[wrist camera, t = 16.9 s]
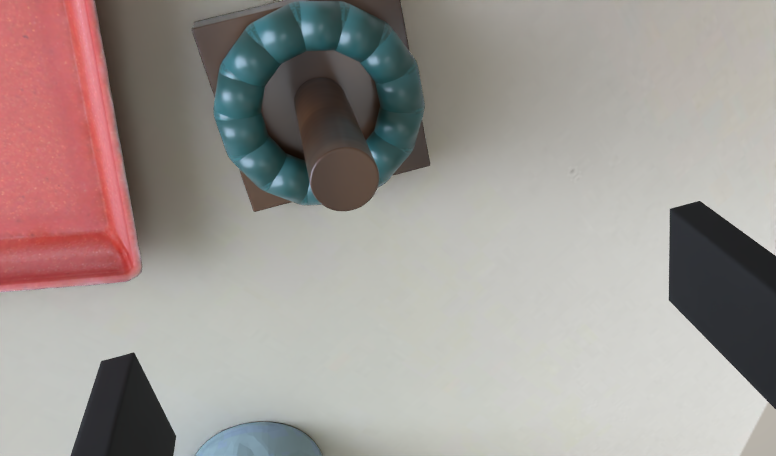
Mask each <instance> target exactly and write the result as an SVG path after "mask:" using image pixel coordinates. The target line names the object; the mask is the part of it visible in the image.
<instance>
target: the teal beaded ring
mask: <svg viewBox="0 0 776 456" xmlns="http://www.w3.org/2000/svg"><path fill="white" fill-rule="evenodd" d="M332 50H335V51H337V52H339V53H341V54H343V55H346V56H348V57H350V58H352V59H354V60H356V61H358V62H360V64H361V65H362V66H363V67H364V69H365V70H366V71H367V72H368V74H369V75H370V76H371V77H372V79H373V80H374V81H375V84H376V88H377V93H378V98H379V102H380V109H379V113H378V117H377V121H376V125H375V129H374V131H373V132H372V133H371V135H370V136H369V137H368V138H367V140H366V142H367V144H368V147H369V149H370V151H371V153H372V156H373V158H374V160H375V163H376V165H377V167H378V171H379V184H378V187H380V186H382V185H383V184H385V183H386V182H387V181H388V180H389V179H390V178H391V176H392V175H393V174H394V173H395V172H396V170H397V169H398V168H399V167H400V166H401V164H402V163H403V162H404V161H405V160H406V158H407V157H408V156H409V155H410V154H411V152H412V151H413V149H414V146H415V142H416V139H417V135H418V132H419V128H420V125H421V121H422V117H423V114H424V109H425V103H424V97H423V92H422V86H421V80H420V75H419V69H418V65H417V62H416V60H415V58H414V57H413V55H412V54H411V53H410V51H409V50H408V49H407V47H406V46H405V45H404V43H403V42H402V41H401V39H400V38H399V37H398V35H397V34H396V33H395V31H394V30H393V29H392V27H391V26H390V25H389V24H388V23H386V22H385V21H383V20H381V19H379V18H377V17H375V16H373V15H371V14H369V13H367V12H365V11H363V10H361V9H359V8H357V7H355V6H353V5H351V4H349V3H346V2H343V1H296V2H292V3H289V4H287V5H285V6H283V7H281V8H279V9H277V10H275V11H273V12H271V13H270V14H268V15H266V16H264V17H262V18H260V19H258V20H256V21H254V22H252V23H251V24H249V25H248V26H247V27H246V29H245V30H244V31H243V33H242V34H241V36H240V37H239V38H238V40H237V41H236V43H235V44H234V45H233V47H232V48H231V50H230V51H229V52H228V54H227V55H226V57H225V58H224V59H223V61H222V63H221V65H220V68H219V73H218V80H217V87H216V94H215V101H214V118H215V121H216V124H217V126H218V129H219V132H220V135H221V138H222V141H223V144H224V147H225V149H226V152H227V155H228V157H229V158H230V159H231V161H232V162H233V163H234V164H235V165H236V166H237V167H238V168H239V169H240V170H241V171H242V172H243V173H244V174H245V175H246V176H247V177H248V178H249V179H250V180H251V181H252V182H253V183H254V184H255V185H256V186H257V187H258V188H260V189H261V190H263V191H265V192H267V193H270V194H273V195H275V196H278V197H281V198H284V199H286V200H289V201H292V202H294V203H297V204H300V205H320V204H321V203H320V202H319V201H318V200H317V199H316V198H315V197H314V195H313V193H312V190H311V187H310V182H309V177H308V172H307V167H306V162H305V161H304V160H302V159H299V158H297V157H294V156H292V155H289V154H287V153H285V152H284V151H283V150H282V149H281V148H280V147H279V146H278V144H277V143H276V142H275V141H274V140H273V139H272V138H271V137H270V136H269V135H268V132H267V129H266V126H265V122H264V119H263V116H262V113H261V108H262V102H263V96H264V90H265V85H266V84H267V83H268V81H269V80H270V79H271V77H272V76H273V75H274V73H275V72H276V70H277V69H278V68H279V66H280V65H281V64H282V63H284V62H286V61H288V60H290V59H292V58H294V57H296V56H298V55H300V54H302V53H304V52H306V51H332Z"/></svg>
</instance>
